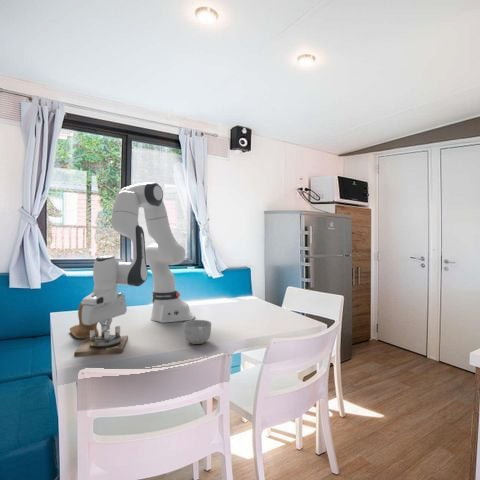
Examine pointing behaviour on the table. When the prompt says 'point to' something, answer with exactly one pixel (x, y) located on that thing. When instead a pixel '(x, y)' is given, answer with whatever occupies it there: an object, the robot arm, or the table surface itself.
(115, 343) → the grey pegged disc
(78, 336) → the tan boot
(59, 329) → the table surface
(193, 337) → the teacup
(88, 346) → the stand board
